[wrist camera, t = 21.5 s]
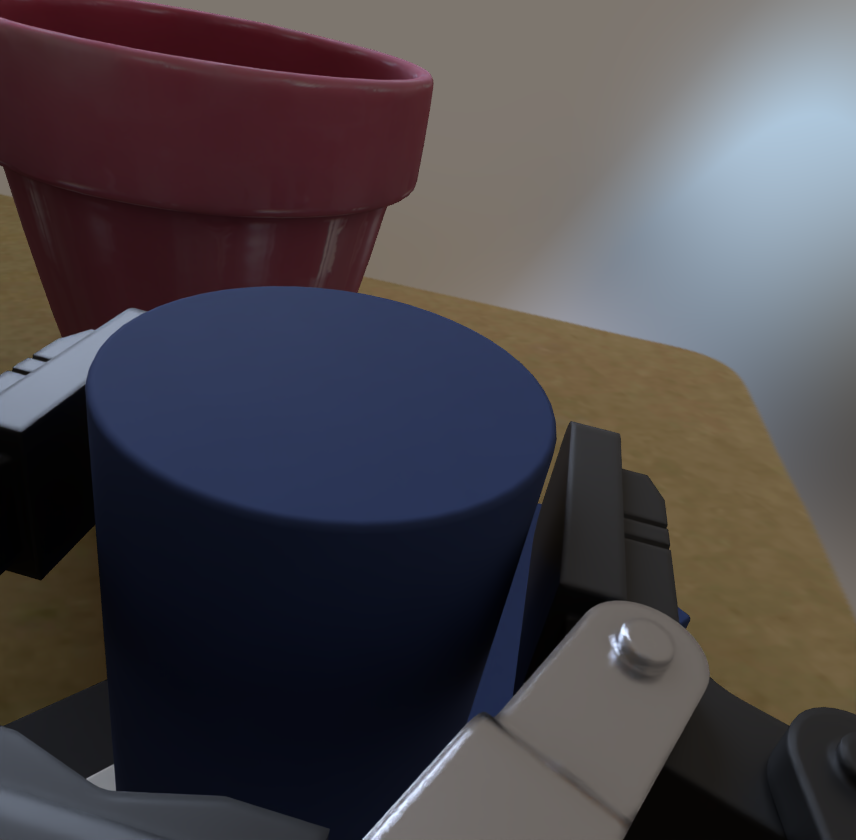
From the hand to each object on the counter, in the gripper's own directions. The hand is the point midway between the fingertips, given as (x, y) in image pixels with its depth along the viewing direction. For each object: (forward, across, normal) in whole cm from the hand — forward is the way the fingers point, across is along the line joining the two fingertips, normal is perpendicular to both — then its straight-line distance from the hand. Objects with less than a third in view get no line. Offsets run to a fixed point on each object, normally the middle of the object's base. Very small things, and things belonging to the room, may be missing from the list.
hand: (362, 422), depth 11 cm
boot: (0, -2, +9) cm, 9 cm away
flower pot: (+15, +10, +10) cm, 20 cm away
